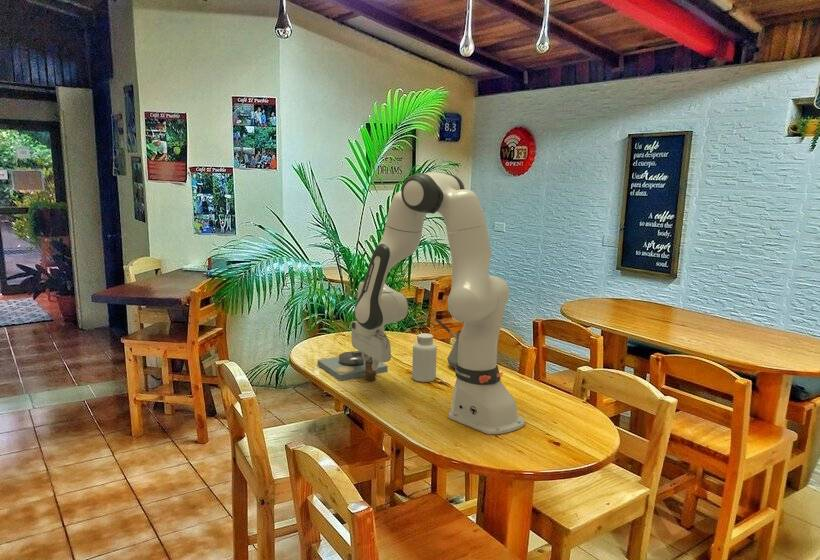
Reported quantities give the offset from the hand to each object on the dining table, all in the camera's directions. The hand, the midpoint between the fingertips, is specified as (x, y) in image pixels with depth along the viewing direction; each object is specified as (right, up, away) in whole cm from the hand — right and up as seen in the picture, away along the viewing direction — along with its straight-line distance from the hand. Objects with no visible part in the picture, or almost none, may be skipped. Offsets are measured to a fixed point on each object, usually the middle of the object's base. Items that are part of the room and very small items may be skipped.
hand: (370, 367), depth 187 cm
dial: (-6, +1, +13) cm, 14 cm away
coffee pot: (+29, -2, +19) cm, 34 cm away
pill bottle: (+18, -4, +3) cm, 18 cm away
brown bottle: (0, -4, +1) cm, 4 cm away
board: (-7, -2, +11) cm, 14 cm away
